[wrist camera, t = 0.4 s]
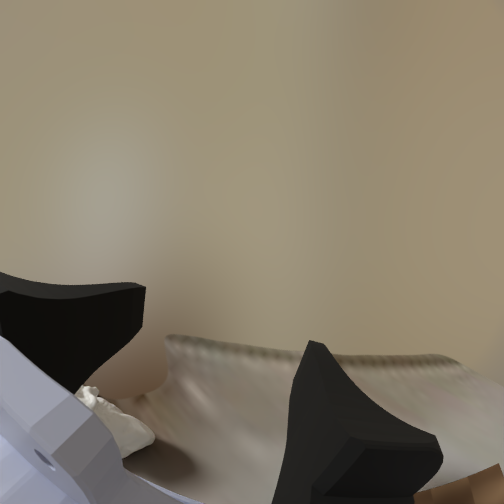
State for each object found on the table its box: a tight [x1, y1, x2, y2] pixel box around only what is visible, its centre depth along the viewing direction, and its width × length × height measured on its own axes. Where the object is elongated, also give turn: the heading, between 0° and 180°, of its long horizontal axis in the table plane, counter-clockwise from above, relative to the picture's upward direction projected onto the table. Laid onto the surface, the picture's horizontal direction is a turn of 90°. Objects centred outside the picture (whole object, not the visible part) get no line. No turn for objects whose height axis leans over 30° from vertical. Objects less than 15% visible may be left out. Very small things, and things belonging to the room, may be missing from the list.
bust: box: [75, 385, 155, 458], centre depth 19 cm, size 12×8×11 cm
